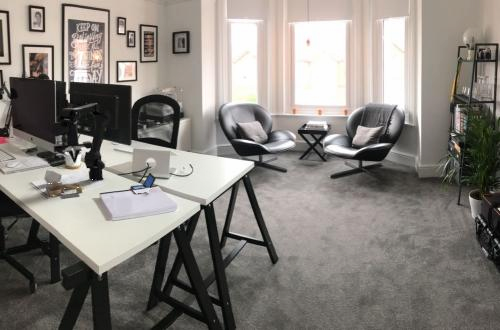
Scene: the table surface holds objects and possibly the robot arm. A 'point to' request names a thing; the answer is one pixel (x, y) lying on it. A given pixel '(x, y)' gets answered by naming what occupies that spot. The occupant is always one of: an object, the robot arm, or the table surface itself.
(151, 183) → the handheld game console
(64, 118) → the robot arm
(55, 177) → the die
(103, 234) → the table surface
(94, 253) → the table surface
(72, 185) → the tunnel
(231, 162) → the table surface
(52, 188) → the walnut block
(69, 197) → the pit mat
